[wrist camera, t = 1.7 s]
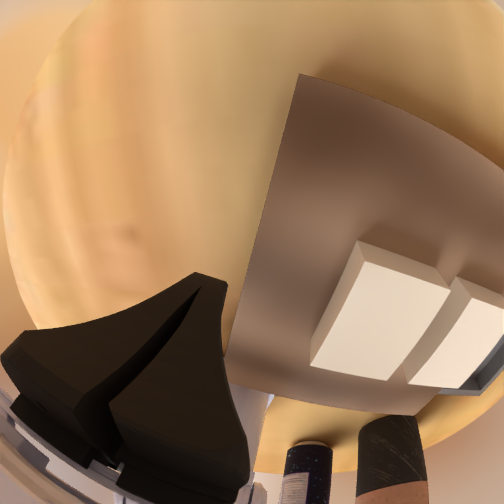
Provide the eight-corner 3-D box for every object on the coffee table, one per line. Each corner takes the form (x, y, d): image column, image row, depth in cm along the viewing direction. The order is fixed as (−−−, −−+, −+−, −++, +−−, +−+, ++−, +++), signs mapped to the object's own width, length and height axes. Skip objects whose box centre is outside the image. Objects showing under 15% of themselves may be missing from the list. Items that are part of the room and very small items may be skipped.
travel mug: (375, 411, 22) (371, 589, 4) (430, 412, 21) (444, 565, 4) (345, 441, 26) (331, 584, 8) (396, 442, 25) (396, 573, 7)
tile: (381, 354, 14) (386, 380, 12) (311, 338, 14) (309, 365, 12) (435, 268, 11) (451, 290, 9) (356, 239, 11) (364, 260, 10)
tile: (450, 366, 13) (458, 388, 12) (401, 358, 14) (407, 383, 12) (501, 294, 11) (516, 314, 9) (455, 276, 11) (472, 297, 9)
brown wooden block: (406, 380, 20) (414, 415, 16) (232, 340, 21) (218, 378, 17) (515, 193, 11) (550, 211, 8) (301, 88, 12) (299, 73, 9)
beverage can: (291, 454, 29) (278, 530, 18) (285, 438, 27) (268, 525, 16) (333, 453, 27) (326, 530, 17) (332, 436, 25) (325, 527, 15)
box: (473, 380, 18) (479, 395, 17) (414, 373, 19) (419, 392, 17) (558, 246, 11) (572, 257, 9) (513, 207, 12) (530, 218, 10)
